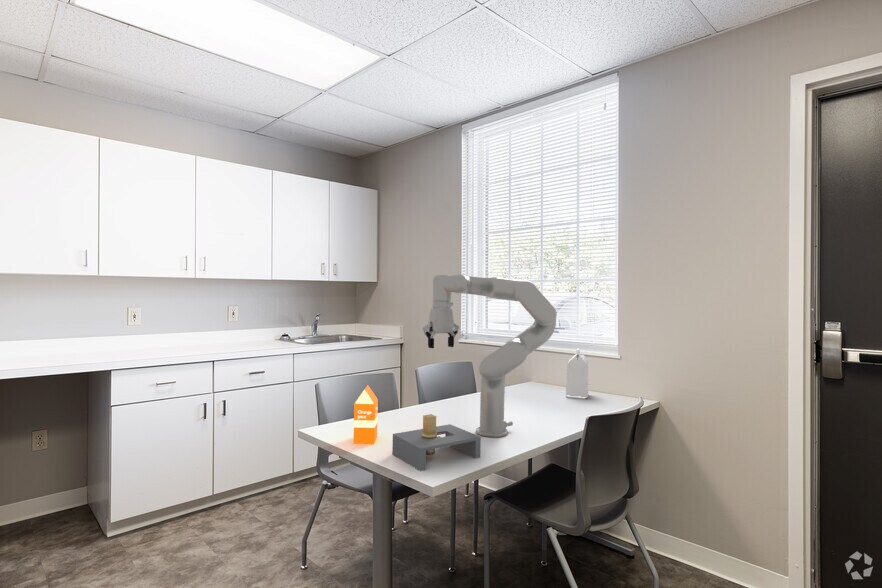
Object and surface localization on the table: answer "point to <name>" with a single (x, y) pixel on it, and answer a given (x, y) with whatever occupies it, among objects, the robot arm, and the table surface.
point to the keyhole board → (433, 444)
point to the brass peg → (429, 430)
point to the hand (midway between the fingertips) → (441, 347)
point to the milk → (577, 376)
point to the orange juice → (365, 418)
